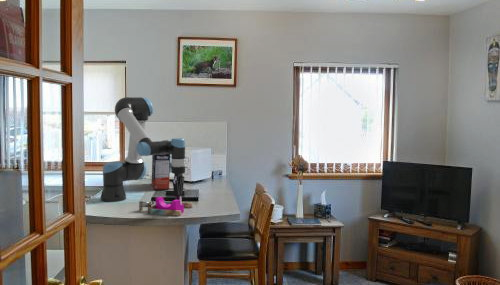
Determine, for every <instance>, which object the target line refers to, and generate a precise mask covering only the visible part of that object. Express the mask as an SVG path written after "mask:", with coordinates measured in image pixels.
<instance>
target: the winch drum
mask: <svg viewBox="0 0 500 285" xmlns="http://www.w3.org/2000/svg"><path fill="white" fill-rule="evenodd" d="M154 202H155V201H154V200H151V201H142V200H140V201H138V204H139V205H138V206H139V207H138V210H139V212H141V211H143V208H147V209H148V208H150V207H151V206H153V205H155V203H154Z"/></svg>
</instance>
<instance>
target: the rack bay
mask: <svg viewBox="0 0 500 285" xmlns="http://www.w3.org/2000/svg"><path fill="white" fill-rule="evenodd" d="M164 202H165V203H166V205H168V204H172V201H169V200H168V201H166V200H165V199H164ZM181 204H183V205H184V208H189V209H190V208H193V206H194V205H193V202H185V201H181ZM147 214H148V215H159V214H161V215H162V216H175V215H178V216H179V217H181V216H182V213H181V211H180V210H163V209H156V203H154V204H153V205H151V207H150V208H148V207H147ZM161 215H160V216H161ZM180 215H181V216H180ZM178 216H177V217H178Z"/></svg>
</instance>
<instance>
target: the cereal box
mask: <svg viewBox="0 0 500 285" xmlns="http://www.w3.org/2000/svg"><path fill="white" fill-rule="evenodd" d="M151 156H152V158H151V159H152V160H151V186H152V188H153V190H154V191H167V190H168V189H169V190H170V173H171V172H170V170H171V169H170V167H171V166H170V165H171V154H161V155H151Z"/></svg>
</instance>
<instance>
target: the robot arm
mask: <svg viewBox="0 0 500 285" xmlns="http://www.w3.org/2000/svg"><path fill="white" fill-rule="evenodd" d="M153 112H154V107H153V103H152V101H151V100H150V99H149V98H147V97H141V96H139V97H132V96H131V97H129V96H126V97H122V98H119V100H118V101H116V104H115V106H114V114H115V117H116V118H117V119H118V120H119V121H120V122H122V124H123V125H124V126H125V129H126V130H127V131H128V133H129V138H128V148H127V157H125V158H124V162H123V161H122V160H116V161H109V162H106V163H104V164H103V166H102V181H103V182H102V183H103V185H102V186H103V189H102V191H101V195H100V201H102V202H106V203H107V202H108V203H109V202H120V201H124V200H126V199H127V194H126V192H125V188H124V182H129V181H130V182H131V181H137V180H138V181H139V180H141V179H143V178H144V177H145V175H146V173H147V165H146V163H145V162H144V159H143V158H142V157H148V156H152V155H161V154H170V165H171V174H174V176H173V179H172V180H171V182H172V186H173V196H174V197H175V200H181V201H182V197H183V196H184V185H185V183H184V182H185V176H184V175H183V174H186V162H187V161H186V141H185V138H183V137H174V138H171V139H170V140H168V139H166V140H159V141H152V139H151V138H150V137H149V135H148V134H147V133H146V131H145V128H146V123H147V122H148V121H149V117H151V116H152V115H153V114H154V113H153Z"/></svg>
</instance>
